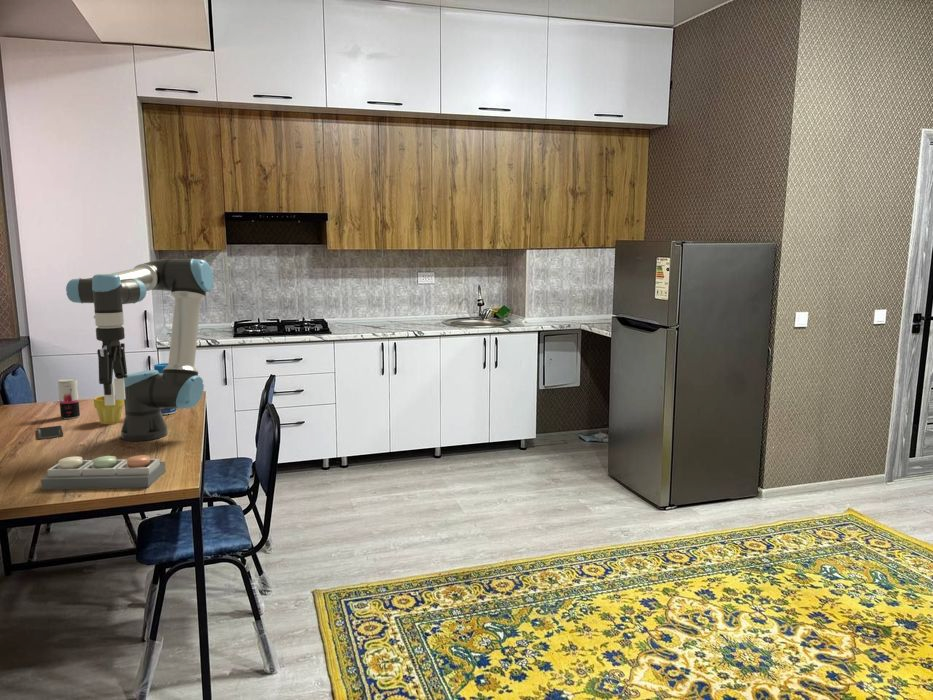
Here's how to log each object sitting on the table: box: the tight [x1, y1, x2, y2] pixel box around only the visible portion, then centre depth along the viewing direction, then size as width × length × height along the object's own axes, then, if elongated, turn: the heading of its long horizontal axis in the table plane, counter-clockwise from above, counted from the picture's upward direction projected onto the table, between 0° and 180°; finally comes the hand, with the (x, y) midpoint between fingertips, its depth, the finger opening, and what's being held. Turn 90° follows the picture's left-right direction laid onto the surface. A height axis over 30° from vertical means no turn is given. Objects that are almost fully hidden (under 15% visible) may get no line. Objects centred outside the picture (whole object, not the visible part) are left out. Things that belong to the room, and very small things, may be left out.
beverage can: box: [57, 377, 81, 420], centre depth 275 cm, size 7×7×15 cm
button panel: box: [40, 458, 167, 491], centre depth 203 cm, size 14×29×5 cm, turn 95°
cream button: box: [58, 456, 83, 469], centre depth 202 cm, size 6×6×2 cm
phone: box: [36, 425, 64, 441], centre depth 252 cm, size 8×1×15 cm
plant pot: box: [93, 395, 125, 425], centre depth 268 cm, size 10×10×10 cm
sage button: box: [92, 455, 117, 468], centre depth 203 cm, size 6×6×2 cm
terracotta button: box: [126, 454, 151, 468], centre depth 203 cm, size 6×6×2 cm
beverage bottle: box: [153, 362, 178, 416], centre depth 282 cm, size 8×8×20 cm
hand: (115, 402), depth 210 cm, fingers open, 7 cm apart
